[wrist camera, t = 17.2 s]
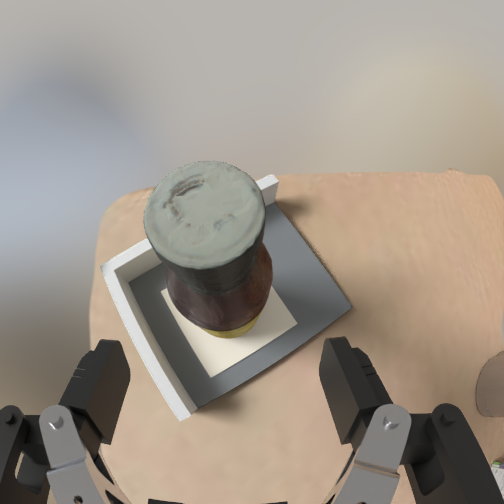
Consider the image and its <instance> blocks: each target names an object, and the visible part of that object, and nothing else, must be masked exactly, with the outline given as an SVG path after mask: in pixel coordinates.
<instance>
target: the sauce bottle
mask: <svg viewBox="0 0 504 504" xmlns="http://www.w3.org/2000/svg"><path fill="white" fill-rule="evenodd" d="M265 220H266V207H265V202H264V199H263V195H262V192H261V189H260V188H259V186H258V185H257V183H256V182H255V181H254V180H253V179H252V178H251V177H250V176H249V175H248V174H247V173H245V172H243V171H241V170H240V169H238V168H237V167H234V166H232V165H230V164H227V163H224V162H218V161H198V162H194V163H191V164H187V165H184V166H183V167H180V168H177V169H176V170H175V171H173V172H172V173H170V174H169V175H168V176H166V177H165V178H164V179H163V180H162V181H161V182H160V183H159V184H158V185H157V186H156V188H155V189H154V191H153V192H152V194H151V195H150V197H149V198H148V202H147V205H146V208H145V210H144V228H145V231H146V235H147V238H148V240H149V242H150V244H151V246H152V248H153V250H154V251H155V253H156V255H157V256H158V258H159V259H160V260H161V261H162V263H163V264H164V265H165V266H166V267H167V273H166V285H167V290H168V294H169V296H170V299H171V301H172V303H173V304H174V306H175V307H176V309H177V310H178V311H179V312H180V313H181V314H182V315H183V316H184V317H185V318H186V319H187V320H189V321H190V322H191V323H193V324H194V325H196V326H198V327H200V328H201V329H202V330H204V331H206V332H207V333H209V334H210V335H212V336H215V337H218V338H224V339H230V338H236V337H239V336H242V335H244V334H245V333H247V332H248V331H249V330H250V329H251V328H252V327H253V326H254V324H255V323H256V321H257V319H258V318H259V316H260V314H261V312H262V310H263V308H264V306H265V304H266V302H267V300H268V297H269V292H270V289H271V285H272V281H273V267H272V259H271V257H270V255H269V253H268V251H267V249H266V247H265V245H264V243H263V242H262V241H263V236H264V229H265Z"/></svg>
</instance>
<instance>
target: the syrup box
mask: <svg viewBox="0 0 504 504" xmlns="http://www.w3.org/2000/svg"><path fill="white" fill-rule="evenodd" d="M491 470H492V473H493V475H494V477H495V479H496V482H497V484H498V487H499V489H500V491H501V494H502V496H503V499H504V463H500V462H493V464H492V466H491Z"/></svg>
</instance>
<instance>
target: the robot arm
mask: <svg viewBox="0 0 504 504" xmlns="http://www.w3.org/2000/svg"><path fill="white" fill-rule="evenodd" d="M319 376H320V381H321V384H322V387H323V390H324V393H325V396H326V399H327V402H328V405H329V408H330V411H331V414H332V417H333V420H334V423H335V426H336V429H337V432H338V435H339V439H340V442H341V445H343V444H348V443H351V444H352V447H353V450H352V452H351V454H350V456H349V458H348V460H347V462H346V464H345V466H344V468H343V470H342V472H341V473H340V475H339V477H338V479H337V481H336V483H335V484H334V486H333V488H332V490H331V491H330V493H329V494H328V496H327V497H326V499H325V500H324V502H323V503H322V504H390V503H391V501H392V498H393V496H394V493H395V491H396V488H397V485H398V482H399V478H400V474H398V473H397V470H398V467H399V465H404V467H405V470H406V473H407V476H408V479H409V482H410V485H411V488H412V491H413V494H414V498H415V501H416V504H504V499H503V496H502V494H501V491H500V489H499V487H498V484H497V482H496V479H495V477H494V475H493V473H492V470H491V468H490V466H489V464H488V462H487V460H486V458H485V455H484V453H483V451H482V449H481V447H480V445H479V443H478V441H477V439H476V438H475V436H474V434H473V432H472V430H471V428H470V426H469V424H468V423H467V421H466V419H465V417H464V415H463V414H462V412H461V410H460V409H459V408H458V407H456V406H454V405H452V404H447V403H445V404H440V405H438V406H437V407H436V408H435V409H434V410H433V412H432V413H428V414H410V413H408V411H407V410H406V409H404V408H403V407H401V406H399V405H396V404H393V402H392V401H391V399H390V397H389V395H388V393H387V391H386V389H385V387H384V385H383V383H382V381H381V380H380V378H379V376H378V374H377V372H376V370H375V368H374V367H373V366H372V363H371V361H370V359H369V358H368V356H367V355H366V354H365V353H364V352H363V351H362V350H360V349H359V348H351V346H350V344H349V342H348V340H347V338H346V337H335V338H327V339H326V340H325V342H324V347H323V352H322V356H321V361H320V366H319ZM129 382H130V368H129V365H128V362H127V360H126V357H125V354H124V351H123V348H122V345H121V343H120V342H119V341H117V340H105V339H101V340H100V341H99V343H98V345H97V347H96V348H95V350H94V351H91V350H90V351H89V352H88V353H87V354H86V355H85V356H84V357H83V358H82V359H81V361H80V363H79V364H78V366H77V369H76V370H75V372H74V374H73V377H72V378H71V380H70V382H69V384H68V386H67V388H66V390H65V392H64V394H63V396H62V398H61V400H60V402H59V404H58V405H53V406H50V407H48V408H46V409H45V410H44V411H43V412H42V414H41V415H24V414H23V413H22V412H21V410H20V409H19V408H18V407H16V406H13V405H9V406H6V407H4V408H3V409H1V410H0V504H47V499H48V495H49V490H50V486H51V489H52V492H53V494H54V497H55V500H56V502H57V504H132V503H131V502H130V501H129V499H128V498H127V497H126V495H125V494H124V493H123V492H122V491H121V489H120V488H119V486H118V484H117V483H116V481H115V479H114V477H113V475H112V474H111V472H110V470H109V468H108V466H107V464H106V462H105V460H104V458H103V456H102V454H101V452H100V450H99V447H100V443H104V444H109V445H111V442H112V438H113V434H114V431H115V427H116V424H117V421H118V417H119V414H120V411H121V407H122V404H123V401H124V398H125V395H126V391H127V388H128V385H129ZM476 403H477V407H478V410H479V412H480V414H482V415H483V416H486V417H504V351H503V352H500V353H499V354H498V356H496V357H493V358H491V359H490V360H489V361H488V362H487V363H486V364H485V366H484V367H483V369H482V371H481V373H480V376H479V379H478V383H477V389H476ZM21 452H22V453H23V454H24V456H23V459H22V462H21V465H20V469H19V472H18V475H17V479H16V478H15V469H16V466H17V463H18V459H19V456H20V453H21ZM148 504H183V503H177V502H168V501H161V500H154V499H148ZM267 504H287V502H278V503H267Z"/></svg>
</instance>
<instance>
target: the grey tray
mask: <svg viewBox="0 0 504 504" xmlns="http://www.w3.org/2000/svg"><path fill="white" fill-rule="evenodd" d="M256 183H257V185H258V186H259V188H260V189H261V192H262V195H263V199H264V202H265V207H266V220H265V229H264V236H263V241H262V242H263V243H264V245H265V247H266V249H267V251H268V253H269V255H270V257H271V259H272V267H273V281H272V285H271V289H270V292H269V297H268V300H267V302H266V304H265V306H264V308H263V310H262V312H261V314H260V316H259V318H258V319H257V321H256V323H255V324H254V326H253V327H252V328H251V329H250V330H249V331H248V332H247V333H245V334H244V335H242V336H239V337H236V338H230V339H224V338H218V337H215V336H212V335H210V334H209V333H207V332H206V331H204V330H202V329H201V328H200V327H198V326H196V325H194V324H193V323H191V322H190V321H189V320H187V319H186V318H185V317H184V316H183V315H182V314H181V313H180V312H179V311H178V310H177V309H176V307H175V306H174V304H173V303H172V301H171V299H170V296H169V294H168V290H167V285H166V273H167V267H166V266H165V265H164V264H163V263H162V261H161V260H160V259H159V258H158V256H157V255H156V253H155V251H154V250H153V248H152V246H151V244H150V242H149V240H148V238H146V239H145V240H143V241H141V242H139V243H138V244H136V245H134V246H132V247H131V248H129V249H127V250H125V251H124V252H122V253H120V254H119V255H117V256H115V257H114V258H112V259H110V260H109V261H107V262H105V263H104V264H102V265H100V268H101V270H102V273H103V276H104V278H105V281H106V283H107V286H108V288H109V291H110V293H111V295H112V298H113V300H114V302H115V305H116V307H117V309H118V311H119V314H120V316H121V318H122V320H123V322H124V324H125V327H126V329H127V331H128V333H129V335H130V337H131V339H132V341H133V343H134V345H135V347H136V349H137V351H138V353H139V355H140V356H141V358H142V360H143V362H144V364H145V366H146V368H147V369H148V371H149V373H150V375H151V376H152V378H153V380H154V382H155V383H156V385H157V387H158V388H159V390H160V392H161V393H162V395H163V397H164V398H165V400H166V402H167V403H168V405H169V406H170V408H171V409H172V411H173V413H174V414H175V416H176V417H177V419H178V420H179V421H181V420H183V419H185V418H187V417H189V416H191V415H192V414H193V413H194V412H195V411H196V410H197V409H198V408H199V407H201V406H203V405H205V404H207V403H209V402H210V401H212V400H214V399H216V398H218V397H219V396H221V395H223V394H225V393H226V392H228V391H230V390H232V389H233V388H235V387H237V386H238V385H240V384H242V383H243V382H245V381H247V380H248V379H250V378H252V377H253V376H255V375H256V374H258V373H260V372H261V371H263V370H264V369H266V368H268V367H269V366H271V365H272V364H274V363H275V362H277V361H278V360H280V359H281V358H283V357H284V356H286V355H287V354H289V353H290V352H292V351H293V350H295V349H296V348H298V347H299V346H300V345H302V344H303V343H305V342H306V341H308V340H309V339H310V338H312V337H313V336H315V335H316V334H317V333H319V332H320V331H321V330H323V329H324V328H326V327H327V326H328V325H330V324H331V323H332V322H334V321H335V320H336V319H337V318H339V317H340V316H341V315H343V314H344V313H345V312H347V311H348V310H349V309H350V308H352V306H351V304H350V303H349V302H348V300H347V299H346V297H345V296H344V294H343V293H342V292H341V290H340V289H339V287H338V286H337V285H336V283H335V282H334V280H333V279H332V278H331V276H330V275H329V273H328V272H327V271H326V269H325V268H324V267H323V265H322V264H321V262H320V261H319V260H318V258H317V257H316V256H315V254H314V253H313V252H312V250H311V249H310V248H309V246H308V245H307V244H306V242H305V241H304V240H303V238H302V237H301V236H300V234H299V233H298V232H297V230H296V229H295V228H294V227H293V225H292V224H291V223H290V221H289V220H288V219H287V217H286V216H285V215H284V214H283V212H282V211H281V210H280V208H279V207H278V206H277V205H276V203H275V202H274V201H275V197H276V192H277V188H278V183H279V181H278V180H277V179H276V177H275V176H274V175H273V174H271V175H269V176H266V177H264V178H262V179H260V180H258V181H256Z"/></svg>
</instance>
